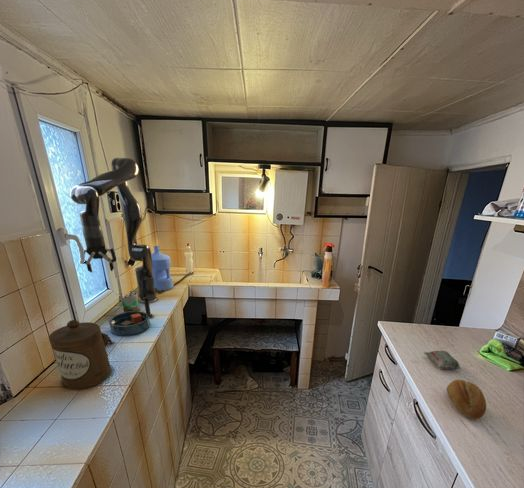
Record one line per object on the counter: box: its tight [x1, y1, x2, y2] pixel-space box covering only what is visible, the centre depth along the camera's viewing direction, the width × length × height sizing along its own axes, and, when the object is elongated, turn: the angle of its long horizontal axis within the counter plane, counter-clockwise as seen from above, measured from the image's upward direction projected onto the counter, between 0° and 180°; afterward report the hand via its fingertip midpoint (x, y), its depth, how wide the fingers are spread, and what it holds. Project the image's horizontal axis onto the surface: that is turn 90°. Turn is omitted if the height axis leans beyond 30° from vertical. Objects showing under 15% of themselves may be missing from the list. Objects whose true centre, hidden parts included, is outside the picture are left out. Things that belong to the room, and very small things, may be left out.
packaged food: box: [423, 350, 462, 370], centre depth 113 cm, size 9×12×5 cm
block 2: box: [131, 313, 143, 324], centre depth 139 cm, size 4×4×4 cm
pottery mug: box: [101, 331, 113, 348], centre depth 118 cm, size 12×10×8 cm
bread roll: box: [446, 379, 487, 420], centre depth 90 cm, size 10×15×8 cm, turn 168°
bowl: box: [108, 310, 151, 336], centre depth 136 cm, size 18×18×5 cm
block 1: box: [120, 321, 134, 326], centre depth 132 cm, size 4×4×4 cm
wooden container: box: [48, 319, 112, 390], centre depth 97 cm, size 15×15×22 cm
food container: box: [120, 290, 140, 313], centre depth 153 cm, size 12×6×10 cm, turn 179°
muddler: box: [143, 297, 154, 320], centre depth 146 cm, size 4×4×11 cm
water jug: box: [151, 245, 175, 292], centre depth 186 cm, size 16×16×28 cm
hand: (101, 271), depth 132 cm, fingers open, 8 cm apart
